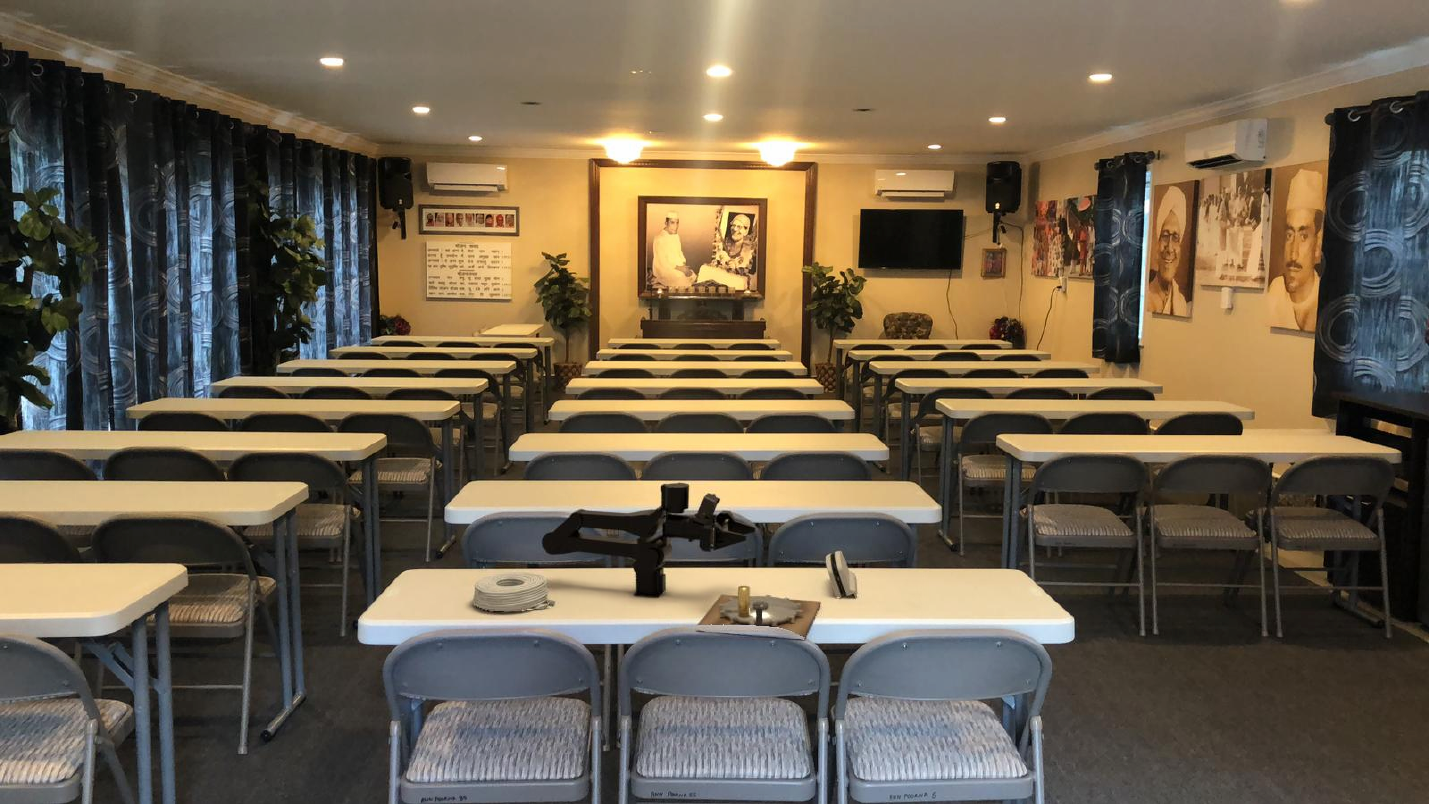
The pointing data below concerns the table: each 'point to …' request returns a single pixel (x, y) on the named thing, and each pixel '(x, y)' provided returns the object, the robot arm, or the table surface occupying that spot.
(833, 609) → the table surface
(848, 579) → the beige layered block
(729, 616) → the sprocket
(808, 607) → the index board
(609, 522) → the robot arm
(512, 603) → the cable
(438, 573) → the table surface
